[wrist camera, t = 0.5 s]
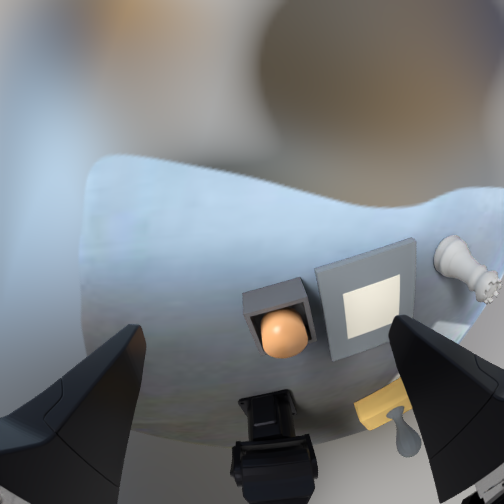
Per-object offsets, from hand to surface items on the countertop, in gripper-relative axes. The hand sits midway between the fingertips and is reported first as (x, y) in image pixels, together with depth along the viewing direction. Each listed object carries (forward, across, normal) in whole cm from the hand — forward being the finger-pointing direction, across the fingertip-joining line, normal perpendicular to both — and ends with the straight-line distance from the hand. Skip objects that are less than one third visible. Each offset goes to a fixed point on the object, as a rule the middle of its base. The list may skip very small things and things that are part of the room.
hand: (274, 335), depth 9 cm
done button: (+11, -2, +9) cm, 15 cm away
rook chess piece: (+14, -20, +4) cm, 25 cm away
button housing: (+14, -2, +9) cm, 16 cm away
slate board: (+14, -12, +9) cm, 20 cm away
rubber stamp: (+14, -21, +27) cm, 37 cm away
